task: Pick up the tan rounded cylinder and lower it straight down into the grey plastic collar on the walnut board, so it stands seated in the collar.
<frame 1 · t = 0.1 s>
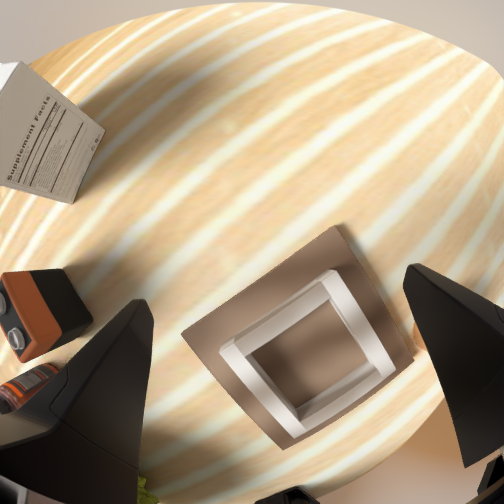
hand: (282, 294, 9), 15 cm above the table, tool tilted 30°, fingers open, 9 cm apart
supplement bottle: (55, 383, 24), on the table
green leafy plant: (122, 467, 24), on the table
collar board: (307, 350, 23), on the table
battery: (69, 303, 24), on the table
supplement box: (65, 158, 24), on the table
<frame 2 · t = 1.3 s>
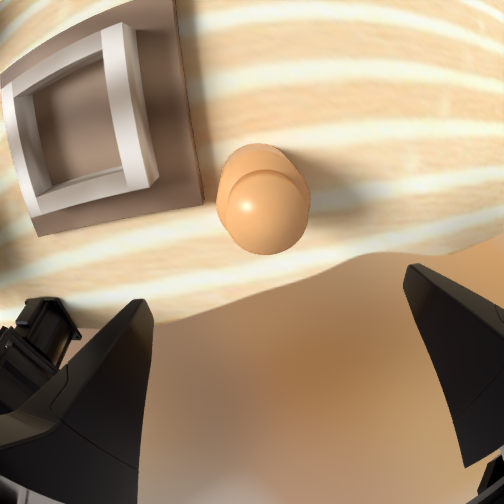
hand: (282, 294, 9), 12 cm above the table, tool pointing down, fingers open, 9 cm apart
tan rounded cylinder: (257, 178, 19), on the table
collar board: (85, 121, 16), on the table
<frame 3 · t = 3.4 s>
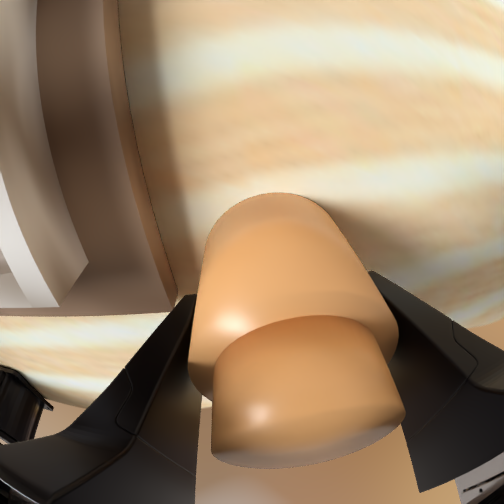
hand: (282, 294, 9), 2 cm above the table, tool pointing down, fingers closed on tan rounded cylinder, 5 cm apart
tan rounded cylinder: (274, 258, 10), on the table, touching gripper
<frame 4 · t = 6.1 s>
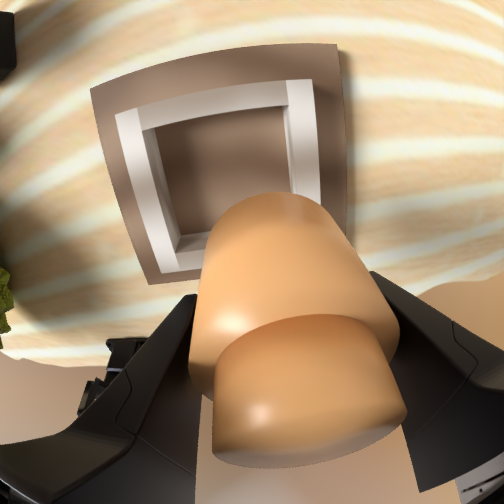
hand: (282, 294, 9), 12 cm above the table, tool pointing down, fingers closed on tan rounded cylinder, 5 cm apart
tan rounded cylinder: (275, 258, 10), point 10 cm above the table, touching gripper
collar board: (227, 168, 18), on the table
battery: (2, 50, 10), on the table
when the fingers open (5 cm above the table, at t = 8.8 s): tan rounded cylinder drops 2 cm, resting on collar board.
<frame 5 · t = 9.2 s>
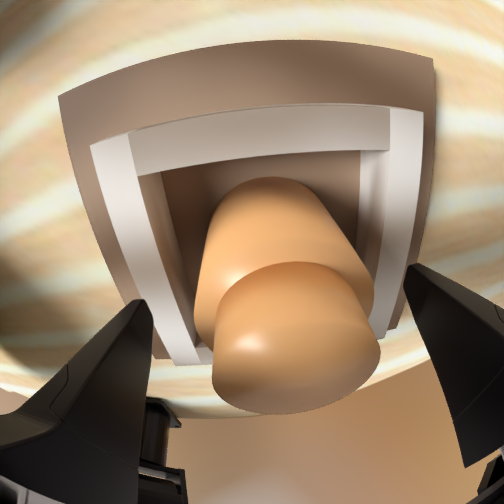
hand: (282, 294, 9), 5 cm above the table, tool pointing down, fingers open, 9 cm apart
tan rounded cylinder: (269, 235, 12), point 1 cm above the table, touching collar board
collar board: (267, 223, 13), on the table
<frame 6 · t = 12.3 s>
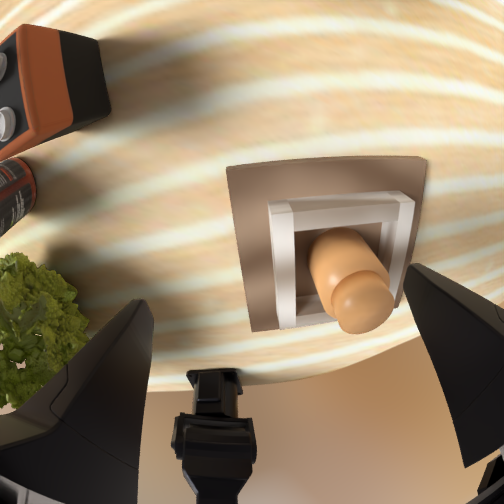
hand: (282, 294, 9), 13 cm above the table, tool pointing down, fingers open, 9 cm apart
tan rounded cylinder: (336, 254, 22), point 1 cm above the table, touching collar board
supplement bottle: (19, 184, 18), on the table
green leafy plant: (64, 300, 25), on the table
collar board: (332, 247, 23), on the table
battery: (83, 85, 15), on the table
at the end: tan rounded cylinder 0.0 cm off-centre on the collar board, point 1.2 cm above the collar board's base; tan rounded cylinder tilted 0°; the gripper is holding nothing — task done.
